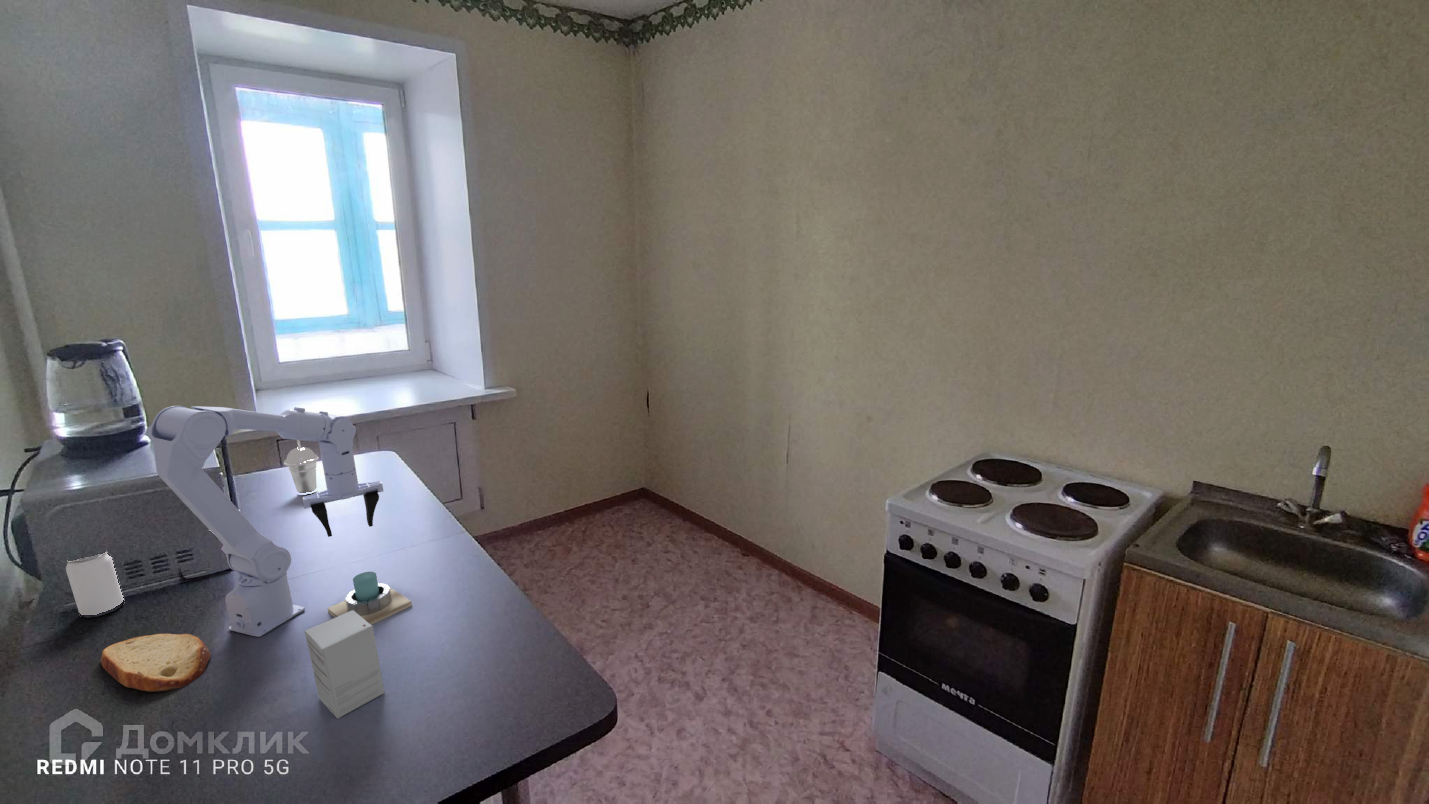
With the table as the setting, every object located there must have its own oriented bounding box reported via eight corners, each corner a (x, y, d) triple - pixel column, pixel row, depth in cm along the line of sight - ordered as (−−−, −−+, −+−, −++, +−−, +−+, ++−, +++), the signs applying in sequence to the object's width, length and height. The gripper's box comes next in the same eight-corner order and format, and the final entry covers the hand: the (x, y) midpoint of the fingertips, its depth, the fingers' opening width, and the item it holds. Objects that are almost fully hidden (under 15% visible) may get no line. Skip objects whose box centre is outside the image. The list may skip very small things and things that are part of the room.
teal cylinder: (369, 611, 120) (364, 584, 118) (352, 608, 121) (347, 581, 119) (385, 599, 124) (380, 573, 122) (369, 596, 125) (364, 570, 123)
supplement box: (366, 674, 104) (354, 608, 101) (385, 694, 99) (374, 625, 96) (317, 698, 98) (303, 629, 95) (335, 720, 94) (321, 649, 91)
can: (134, 601, 126) (119, 547, 123) (100, 620, 119) (84, 564, 116) (105, 599, 126) (89, 546, 123) (70, 618, 120) (53, 563, 117)
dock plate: (411, 605, 123) (411, 601, 123) (354, 632, 115) (353, 628, 115) (384, 587, 130) (384, 583, 130) (328, 612, 121) (327, 608, 121)
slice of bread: (111, 650, 111) (106, 632, 110) (232, 626, 118) (228, 609, 117) (53, 719, 95) (46, 699, 94) (196, 688, 102) (191, 668, 101)
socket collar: (369, 618, 118) (367, 607, 117) (338, 611, 120) (336, 600, 119) (399, 597, 124) (397, 586, 124) (370, 591, 127) (368, 580, 126)
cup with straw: (288, 501, 174) (275, 433, 169) (291, 490, 182) (279, 424, 177) (323, 494, 178) (311, 428, 173) (325, 484, 186) (314, 420, 181)
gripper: (300, 484, 122) (312, 546, 126) (382, 468, 131) (391, 526, 134) (297, 474, 128) (309, 534, 131) (376, 459, 136) (384, 515, 140)
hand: (350, 529), depth 133 cm, fingers open, 7 cm apart
